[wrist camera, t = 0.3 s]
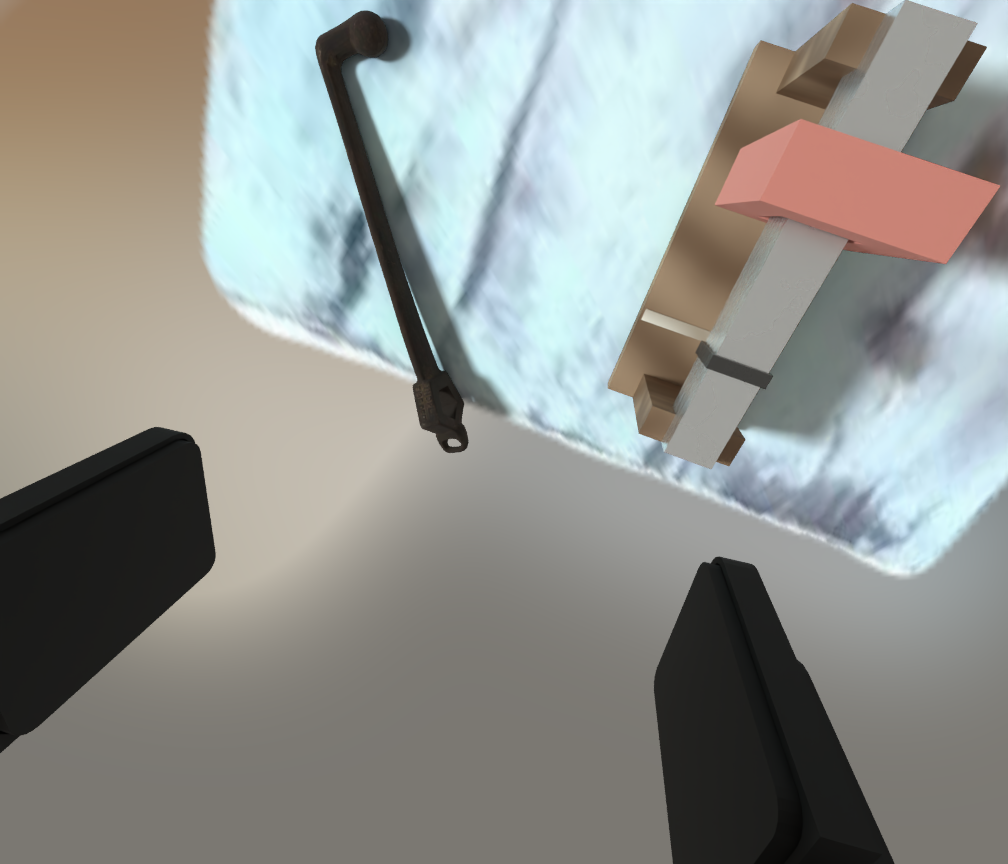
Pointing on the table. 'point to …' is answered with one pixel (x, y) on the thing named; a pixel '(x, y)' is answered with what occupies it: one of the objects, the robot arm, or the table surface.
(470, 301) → the table surface
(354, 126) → the wrench
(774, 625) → the robot arm
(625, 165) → the table surface
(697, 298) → the pipe stand
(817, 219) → the salmon pink rectangular block
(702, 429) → the rod
